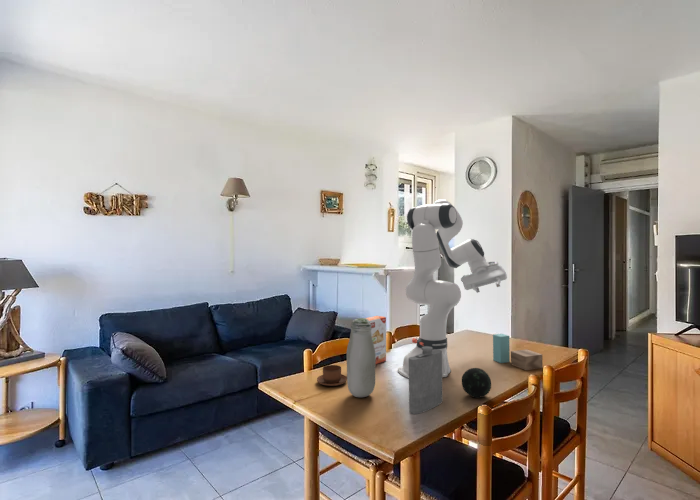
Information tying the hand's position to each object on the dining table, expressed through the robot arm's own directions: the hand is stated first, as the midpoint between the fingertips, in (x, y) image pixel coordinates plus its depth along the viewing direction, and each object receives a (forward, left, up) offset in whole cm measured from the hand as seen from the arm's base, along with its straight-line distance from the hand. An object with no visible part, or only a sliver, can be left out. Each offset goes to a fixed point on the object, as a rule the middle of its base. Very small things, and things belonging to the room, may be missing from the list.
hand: (488, 288), depth 181 cm
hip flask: (-54, -35, -34) cm, 73 cm away
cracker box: (-52, +17, -34) cm, 64 cm away
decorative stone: (-33, -34, -34) cm, 58 cm away
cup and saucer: (-77, -1, -34) cm, 84 cm away
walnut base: (+9, -13, -34) cm, 37 cm away
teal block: (+4, -3, -33) cm, 34 cm away
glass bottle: (-71, -18, -34) cm, 80 cm away
